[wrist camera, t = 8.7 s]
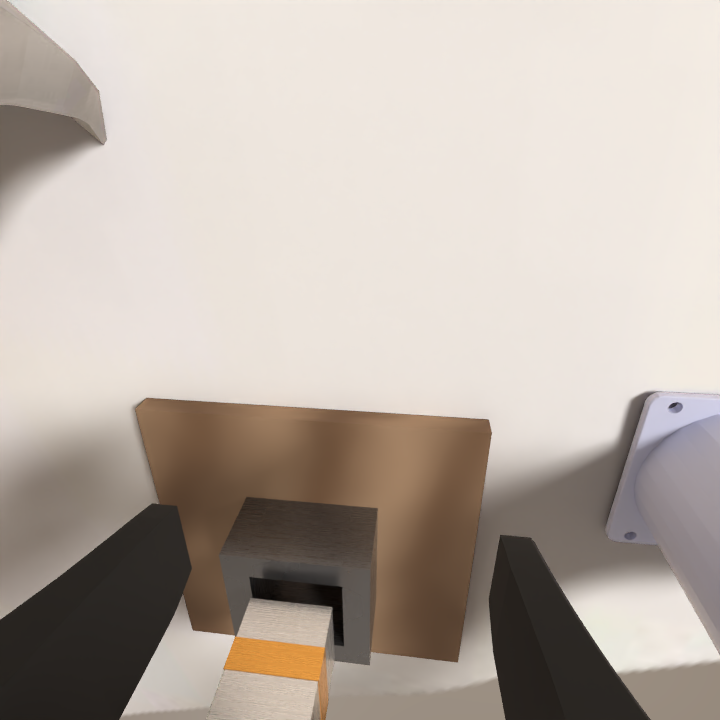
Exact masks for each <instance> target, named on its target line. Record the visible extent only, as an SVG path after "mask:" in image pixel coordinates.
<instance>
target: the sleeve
mask: <svg viewBox="0 0 720 720" xmlns="http://www.w3.org/2000/svg"><path fill="white" fill-rule="evenodd" d="M377 530H378V508H370V507H359V506H347V505H336V504H324V503H312V502H301V501H289V500H278V499H266V498H254V497H246V499H245V501H244V503H243V505H242V508H241V510H240V512H239V514H238V516H237V518H236V520H235V522H234V524H233V526H232V528H231V530H230V532H229V535H228V537H227V539H226V541H225V543H224V545H223V547H222V549H221V551H220V553H219V558H220V563H221V568H222V573H223V578H224V583H225V588H226V594H227V599H228V604H229V609H230V614H231V619H232V624H233V629H234V634H235V637H236V636H237V634H238V631H239V628H240V626H241V623H242V620H243V617H244V615H245V612H246V609H247V607H248V604H249V601H250V598H255V599H264V600H273V601H282V602H291V603H300V604H309V605H318V606H327V607H332V612H333V633H334V654H335V660H334V661H340V662H348V663H356V664H365V665H370V657H371V647H372V637H373V627H374V617H375V607H376V591H377Z"/></svg>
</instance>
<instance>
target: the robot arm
mask: <svg viewBox="0 0 720 720" xmlns="http://www.w3.org/2000/svg"><path fill="white" fill-rule="evenodd" d="M675 402H678V404H677V405H676V406H675V407H673V408H668V407H669V406H670V405H671V404H672V403H675ZM605 532H606V534H607V536H608V538H609V539H610V540H612V541H615V542H625V543H637V544H648V545H658V546H659V548H660V550H661V551H662V553H663V555H664V557H665V558H666V560H667V562H668V564H669V566H670V567H671V569H672V571H673V573H674V574H675V576H676V578H677V580H678V582H679V583H680V585H681V587H682V589H683V590H684V592H685V594H686V596H687V598H688V599H689V601H690V603H691V605H692V606H693V608H694V610H695V612H696V614H697V615H698V617H699V619H700V621H701V622H702V624H703V626H704V628H705V629H706V631H707V633H708V635H709V637H710V638H711V640H712V642H713V644H714V645H715V647H716V649H717V651H718V653H719V654H720V395H710V394H692V393H674V392H656V393H654V394H651V395H650V396H649V397H648V398H647V399H646V401H645V404H644V407H643V410H642V413H641V416H640V419H639V423H638V426H637V429H636V432H635V435H634V438H633V442H632V445H631V448H630V451H629V454H628V457H627V461H626V464H625V467H624V470H623V473H622V476H621V480H620V483H619V486H618V489H617V492H616V495H615V499H614V502H613V505H612V508H611V511H610V514H609V518H608V521H607V524H606V527H605ZM627 532H630V533H627ZM191 570H192V566H191V562H190V558H189V554H188V549H187V545H186V541H185V537H184V533H183V529H182V524H181V520H180V516H179V512H178V508H177V506H173V505H162V504H151V505H150V506H148V507H147V508H146V509H144V510H143V511H142V512H140V513H139V514H138V515H137V516H135V517H134V518H133V519H132V520H130V521H129V522H128V523H127V524H125V525H124V526H123V527H122V528H120V529H119V530H118V531H117V532H115V533H114V534H113V535H112V536H110V537H109V538H108V539H107V540H105V541H104V542H103V543H102V544H100V545H99V546H98V547H97V548H95V549H94V550H93V551H92V552H90V553H89V554H88V555H86V556H85V557H84V558H83V559H81V560H80V561H79V562H77V563H76V564H75V565H74V566H72V567H71V568H70V569H69V570H67V571H66V572H65V573H63V574H62V575H61V576H60V577H58V578H57V579H56V580H54V581H53V582H51V583H50V584H49V585H47V586H46V587H45V588H43V589H42V590H41V591H39V592H38V593H36V594H35V595H34V596H32V597H31V598H30V599H28V600H27V601H25V602H24V603H23V604H21V605H20V606H19V607H17V608H16V609H15V610H13V611H12V612H10V613H9V614H8V615H6V616H5V617H4V618H2V619H1V620H0V720H119V719H120V717H121V715H122V713H123V711H124V709H125V708H126V706H127V704H128V702H129V700H130V698H131V696H132V694H133V692H134V690H135V689H136V687H137V685H138V683H139V681H140V679H141V677H142V675H143V673H144V672H145V670H146V668H147V666H148V664H149V662H150V660H151V658H152V656H153V655H154V653H155V651H156V649H157V647H158V645H159V643H160V641H161V639H162V637H163V635H164V633H165V631H166V630H167V628H168V626H169V624H170V622H171V620H172V618H173V616H174V614H175V611H176V609H177V606H178V604H179V601H180V599H181V596H182V594H183V591H184V589H185V586H186V583H187V581H188V578H189V575H190V573H191ZM489 609H490V621H491V633H492V644H493V653H494V659H495V665H496V670H497V676H498V681H499V687H500V692H501V697H502V703H503V708H504V713H505V719H506V720H650V718H649V717H648V716H647V714H646V713H645V712H644V710H643V709H642V708H641V706H640V705H639V704H638V702H637V701H636V700H635V698H634V697H633V695H632V694H631V693H630V691H629V690H628V688H627V687H626V686H625V684H624V683H623V682H622V680H621V679H620V677H619V676H618V675H617V673H616V672H615V670H614V669H613V668H612V666H611V665H610V663H609V662H608V660H607V659H606V657H605V656H604V655H603V653H602V652H601V650H600V649H599V647H598V646H597V644H596V643H595V641H594V640H593V638H592V637H591V635H590V634H589V632H588V630H587V629H586V627H585V626H584V624H583V623H582V621H581V620H580V618H579V617H578V615H577V614H576V612H575V611H574V609H573V607H572V606H571V604H570V603H569V601H568V599H567V598H566V596H565V594H564V593H563V591H562V589H561V588H560V586H559V584H558V583H557V581H556V579H555V578H554V576H553V574H552V573H551V571H550V569H549V567H548V566H547V564H546V562H545V560H544V559H543V557H542V555H541V553H540V551H539V549H538V548H537V546H536V544H535V542H534V541H533V540H532V539H531V538H528V537H517V536H506V535H500V540H499V546H498V551H497V557H496V562H495V568H494V573H493V579H492V584H491V590H490V596H489Z"/></svg>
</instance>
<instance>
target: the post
mask: <svg viewBox="0 0 720 720" xmlns="http://www.w3.org/2000/svg"><path fill="white" fill-rule="evenodd" d="M334 660H335V654H334V633H333V612H332V607H327V606H318V605H309V604H300V603H291V602H282V601H273V600H264V599H255V598H250V601H249V604H248V607H247V609H246V612H245V615H244V617H243V620H242V623H241V626H240V628H239V631H238V634H237V636H236V637H235V639H234V642H233V644H232V647H231V650H230V652H229V655H228V658H227V661H226V663H225V666H224V672H223V674H222V677H221V680H220V682H219V685H218V688H217V691H216V693H215V696H214V699H213V701H212V704H211V707H210V710H209V712H208V715H207V718H206V720H325V718H326V712H327V706H328V695H329V689H330V684H331V678H332V672H333V666H334Z"/></svg>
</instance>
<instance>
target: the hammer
mask: <svg viewBox="0 0 720 720" xmlns="http://www.w3.org/2000/svg"><path fill="white" fill-rule="evenodd" d="M0 105H15V106H20V107H25V108H30V109H35V110H40V111H46V112H51V113H56V114H61V115H65V116H70V117H71V118H73V119H74V120H75V121H76V122H77V123H78V124H80V125H81V126H82V127H83V128H84V129H85V130H87V131H88V132H89V133H90V134H91V135H92V136H94V137H95V138H96V139H97V140H98V141H99V142H101V143H102V144H103V145H104V144H105V142H106V140H107V138H106V131H105V125H104V119H103V113H102V107H101V101H100V94H99V90H98V89H97V88H96V87H95V85H94V84H93V83H92V81H91V80H90V79H89V77H88V76H87V75H86V74H85V72H84V71H83V70H82V68H81V67H80V66H79V64H78V63H77V62H76V61H75V60H74V59H73V58H72V57H71V56H70V55H69V54H67V53H66V52H65V51H64V50H63V49H62V48H61V47H59V46H58V45H57V44H56V43H55V42H54V41H53V40H52V39H50V38H49V37H48V36H47V35H46V34H45V33H44V32H43V31H41V30H40V29H39V28H38V27H37V26H36V25H35V24H34V23H32V22H31V21H30V20H29V19H28V18H27V17H26V16H25V15H23V14H22V13H21V12H20V11H19V10H18V9H17V8H16V7H14V6H13V5H12V4H11V3H10V2H8V1H7V0H0Z"/></svg>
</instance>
